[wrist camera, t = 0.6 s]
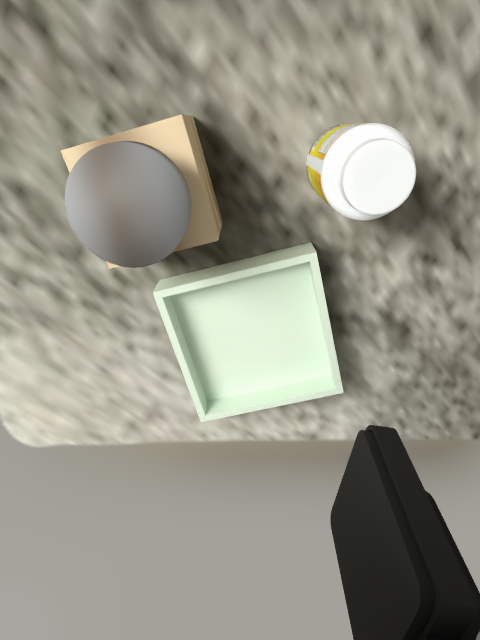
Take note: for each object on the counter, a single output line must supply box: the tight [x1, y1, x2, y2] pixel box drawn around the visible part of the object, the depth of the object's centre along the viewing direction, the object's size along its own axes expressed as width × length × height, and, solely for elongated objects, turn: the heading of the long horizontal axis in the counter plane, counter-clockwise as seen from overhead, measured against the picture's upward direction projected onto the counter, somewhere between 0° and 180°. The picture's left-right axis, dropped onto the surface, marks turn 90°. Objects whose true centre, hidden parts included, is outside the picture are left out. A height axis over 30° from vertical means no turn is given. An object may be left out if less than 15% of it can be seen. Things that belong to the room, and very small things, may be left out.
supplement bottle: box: [306, 123, 416, 221], centre depth 28 cm, size 6×6×10 cm
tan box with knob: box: [61, 115, 223, 269], centre depth 29 cm, size 8×8×10 cm
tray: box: [153, 242, 344, 422], centre depth 37 cm, size 13×13×3 cm
